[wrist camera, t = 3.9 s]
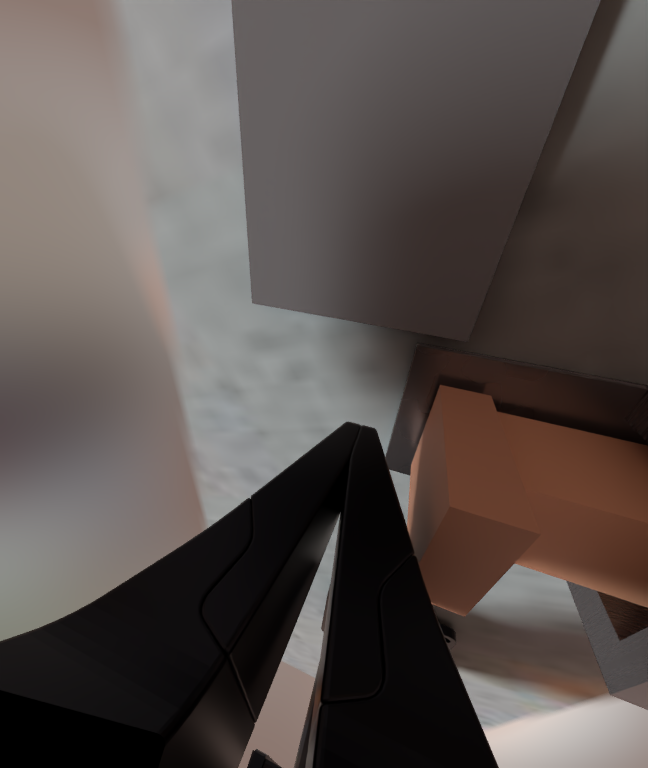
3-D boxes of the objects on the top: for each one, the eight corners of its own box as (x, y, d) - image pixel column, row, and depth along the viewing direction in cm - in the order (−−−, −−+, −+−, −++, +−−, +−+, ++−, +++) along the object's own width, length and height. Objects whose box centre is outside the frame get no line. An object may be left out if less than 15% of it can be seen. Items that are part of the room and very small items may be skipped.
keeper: (705, 556, 8) (922, 820, 4) (383, 463, 10) (360, 594, 6) (909, 434, 5) (1791, 835, 2) (417, 342, 7) (408, 453, 4)
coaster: (465, 335, 7) (467, 341, 6) (259, 299, 8) (252, 303, 8) (615, -58, 4) (633, -85, 3) (242, -18, 5) (229, -35, 5)
